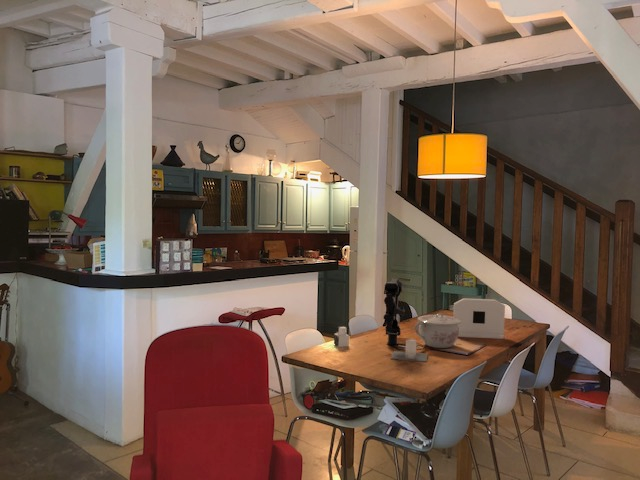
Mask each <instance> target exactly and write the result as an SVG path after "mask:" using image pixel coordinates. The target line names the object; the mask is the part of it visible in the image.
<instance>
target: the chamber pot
mask: <svg viewBox="0 0 640 480" xmlns="http://www.w3.org/2000/svg"><path fill="white" fill-rule="evenodd" d="M416 319H417V322H416V323H415V325H414V332H415V334H416V335H417V336H418V337H419V338H420V339H421V340H422V341H423V343H424V345H426V346H428V347H431V348H434V349H448V348H451V347H452V346H454V345H455V343H456V342H457V340H458V339H459V337H458V335H459V327H458V324H460V323H461V322H462V321H461V320H460V319H458V318H455V317H453V316H452V315H451V316H450V315H447V314H446V315H444V314H443V313H442V312H439V313H436V314H425V315H421V316H418V317H417V318H416Z"/></svg>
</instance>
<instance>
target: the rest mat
mask: <svg viewBox="0 0 640 480" xmlns="http://www.w3.org/2000/svg"><path fill="white" fill-rule="evenodd" d="M405 354H406V351H398V350H393V352H392V354H391V357H390V360H395V359H398V360H397V361H399V360H400V361H408V362H420V363H427V360H428V357H429V356H428V355H429V353H421V352H416V359H407V358H405Z"/></svg>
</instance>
